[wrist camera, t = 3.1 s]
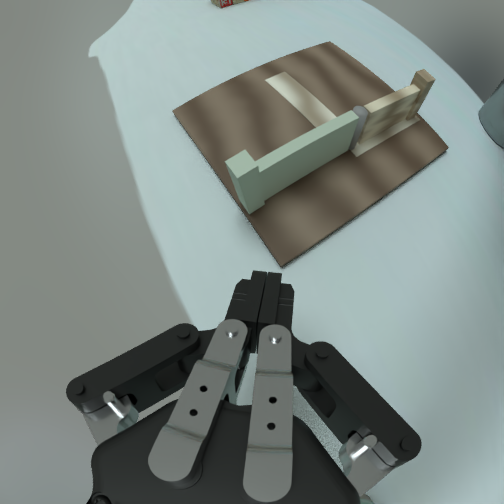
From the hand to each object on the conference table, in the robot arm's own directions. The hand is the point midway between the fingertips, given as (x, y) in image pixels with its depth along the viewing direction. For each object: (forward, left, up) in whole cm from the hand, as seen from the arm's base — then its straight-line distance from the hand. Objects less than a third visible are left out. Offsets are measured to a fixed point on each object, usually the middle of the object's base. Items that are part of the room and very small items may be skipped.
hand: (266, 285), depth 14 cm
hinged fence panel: (-11, -10, -13) cm, 20 cm away
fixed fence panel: (-25, -10, -14) cm, 30 cm away
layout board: (-17, -16, -15) cm, 28 cm away
